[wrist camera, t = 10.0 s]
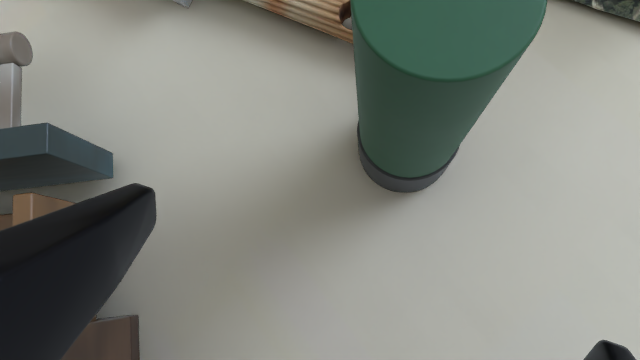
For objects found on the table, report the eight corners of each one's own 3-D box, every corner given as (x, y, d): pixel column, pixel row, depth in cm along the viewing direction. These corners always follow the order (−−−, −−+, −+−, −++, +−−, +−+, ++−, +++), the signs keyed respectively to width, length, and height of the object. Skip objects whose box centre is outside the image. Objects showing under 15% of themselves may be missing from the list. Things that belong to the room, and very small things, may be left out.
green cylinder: (456, 187, 22) (572, 71, 9) (364, 197, 22) (356, 99, 10) (443, 99, 23) (533, -116, 10) (354, 110, 23) (335, -85, 11)
